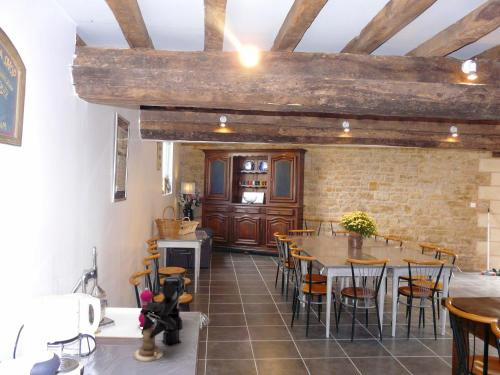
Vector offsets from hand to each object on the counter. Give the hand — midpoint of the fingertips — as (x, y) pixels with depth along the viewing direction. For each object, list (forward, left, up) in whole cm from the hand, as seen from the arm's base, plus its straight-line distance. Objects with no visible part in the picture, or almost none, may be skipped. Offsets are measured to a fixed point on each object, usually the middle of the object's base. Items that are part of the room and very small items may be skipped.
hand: (146, 336), depth 172 cm
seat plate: (-1, 0, -8) cm, 9 cm away
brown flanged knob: (-1, 0, -7) cm, 7 cm away
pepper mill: (-16, -30, -9) cm, 35 cm away
